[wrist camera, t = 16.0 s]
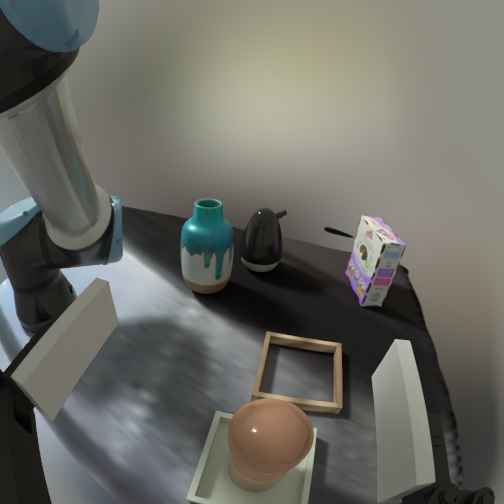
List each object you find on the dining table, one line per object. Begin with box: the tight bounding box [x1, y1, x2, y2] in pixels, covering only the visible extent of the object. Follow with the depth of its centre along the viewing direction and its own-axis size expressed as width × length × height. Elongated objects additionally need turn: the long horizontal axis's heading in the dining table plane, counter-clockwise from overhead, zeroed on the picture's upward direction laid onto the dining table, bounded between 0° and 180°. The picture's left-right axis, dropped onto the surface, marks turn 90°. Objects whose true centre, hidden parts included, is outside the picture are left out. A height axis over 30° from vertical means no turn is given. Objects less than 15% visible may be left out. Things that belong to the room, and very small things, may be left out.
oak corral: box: [251, 331, 342, 414], centre depth 43 cm, size 14×14×2 cm
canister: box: [228, 398, 314, 492], centre depth 25 cm, size 8×8×14 cm
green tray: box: [186, 410, 317, 504], centre depth 28 cm, size 14×14×2 cm
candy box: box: [346, 216, 406, 307], centre depth 62 cm, size 14×6×16 cm, turn 1°
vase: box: [181, 199, 234, 294], centre depth 57 cm, size 11×11×19 cm
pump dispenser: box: [239, 207, 287, 272], centre depth 67 cm, size 10×10×15 cm
